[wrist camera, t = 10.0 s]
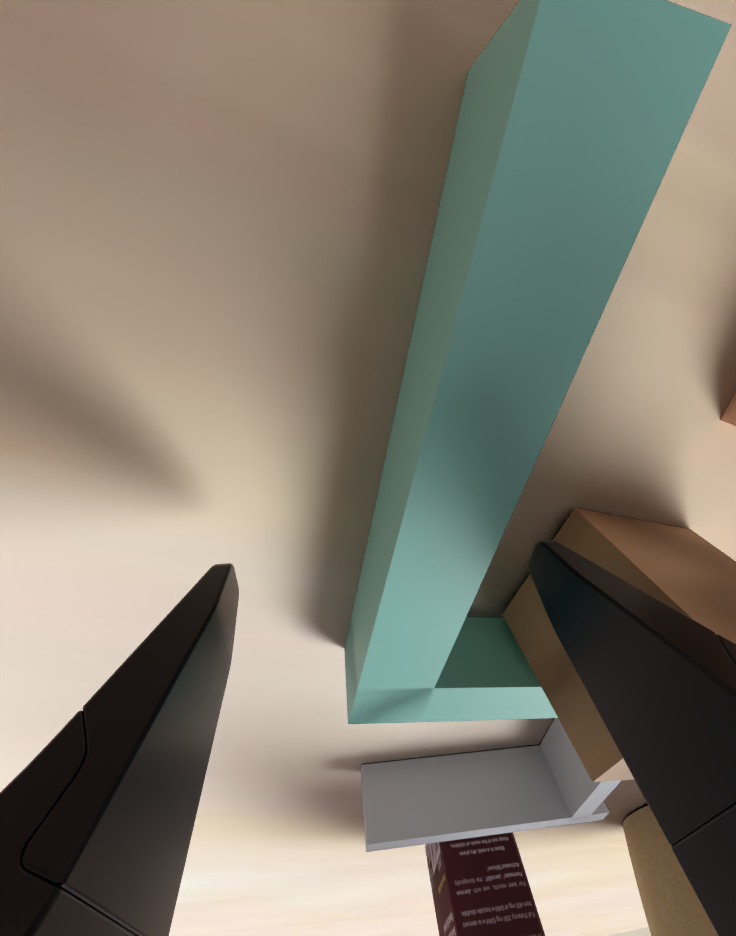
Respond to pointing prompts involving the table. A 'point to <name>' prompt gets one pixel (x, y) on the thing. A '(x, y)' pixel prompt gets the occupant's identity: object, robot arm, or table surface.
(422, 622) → the crook
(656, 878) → the plant pot
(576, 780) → the gray angle bracket
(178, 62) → the table surface
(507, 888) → the supplement box
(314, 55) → the table surface
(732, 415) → the offcut
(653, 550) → the block
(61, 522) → the table surface
